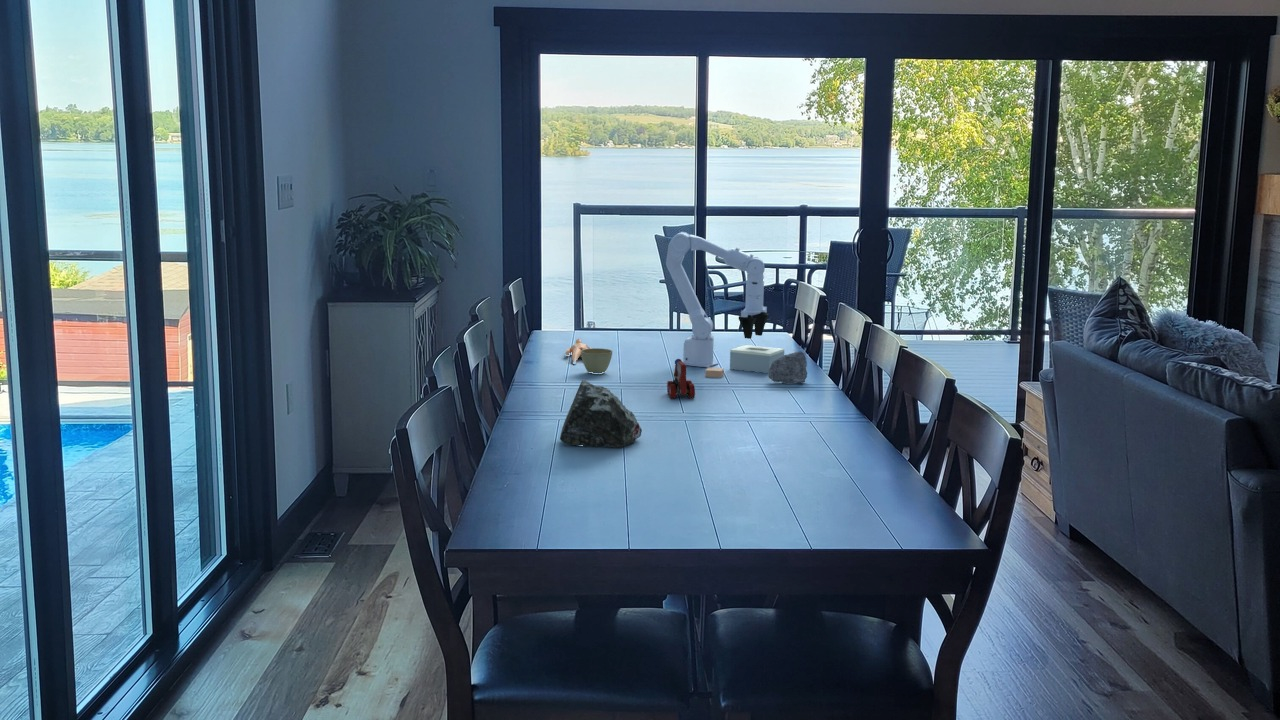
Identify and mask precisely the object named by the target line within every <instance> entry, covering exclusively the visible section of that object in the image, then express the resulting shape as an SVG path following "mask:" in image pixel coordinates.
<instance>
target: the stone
mask: <svg viewBox="0 0 1280 720" xmlns="http://www.w3.org/2000/svg"><path fill="white" fill-rule="evenodd" d="M642 431H643V430H642V427H641V426H640V424H639V422H638V419H637V418H636V416H635V413H633V411H630V409H628V408H627V407H626V405H624V404H623V402H622V401H621V400H620V399H619V397H618V396H616V395H615V394H614V393H613V392H611V390H610V389H608V388H607V387H604V386H601V385H594V384H593V383H590V382H589V381H588V380H586V379H582V380H581V382H580V384H579V387H578V389H577V391H576V393H575V396H574V399H573V400H572V404H571V405H570V408H569V411H568V413H567V414H566V418H565V419H564V422H563V425H562V428H561V432H560V437H559V440H560V441H561V442H563V443H565V444H568V445H572V446H575V445H576V446H575V447H578V446H577V445H583V446H591V447H604V446H605V447H604V448H607V447H613V448H620V449H621V448H624V447H625V446H630V444H631V445H633V444H634V442H635V441H636V440H637V439H639V438H640V437H641V436H642Z"/></svg>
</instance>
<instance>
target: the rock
mask: <svg viewBox="0 0 1280 720" xmlns="http://www.w3.org/2000/svg"><path fill="white" fill-rule="evenodd" d="M807 362H808V361H807V357H806V355H805V354H804V353H803V351H802V350H799V351H795V352H791V353H788V354H784V356H782V357H780V358H778V359H776V360H774V361H773V362H772V364H771V367H770V368H769V370H768V373H767V374H768V378H769V379H770V380H771V381H772V382H774V383H780V382H781V383H783V384H785V383H793V384H796V383H797V384H802V383H805V382H806V379H807V377H808V371H807V366H808V363H807Z"/></svg>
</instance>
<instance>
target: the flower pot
mask: <svg viewBox="0 0 1280 720" xmlns="http://www.w3.org/2000/svg"><path fill="white" fill-rule="evenodd" d="M589 348H590V349H583V350H581V357H580V358H581V360H582V363H583V366H584V367H585V370H586V371H587V373H588V372H593V373H602V372H605V371H607V370H608V367H609V366H610V364H611V360H612V358H613V357H612V356H613V350H611V349H608V348H602V347H601V348H600V347H599V348H598V347H595V348H594V347H593V348H592V347H589ZM605 373H606V372H605Z"/></svg>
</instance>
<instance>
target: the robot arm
mask: <svg viewBox="0 0 1280 720" xmlns="http://www.w3.org/2000/svg"><path fill="white" fill-rule="evenodd" d="M689 250H690V251H704V252H705V253H708V254H711V255H713V256H716V257H719V258H721V259H722V260H723V261H724V264H725V265H727V266H730V267H732V268H734V269H736V270H739V271H741V272H746V273H747V276H746V281H745V308H744V309H743V310H741V311H740V315H739V316H738V321H739V322H740V325H741V327H742V331H743V336H744V339H749V340H751V339H752V337H753V331H754V335H755V336H763V334H764V329H765V326H766V323H767V321H768V319H769V317H770V313H767V312H768V311H767V310H768V306H764V292H765V291H764V290H765V287H764V286H765V281H764V278H765V275H764V272H765V263H764V261H763V260H762V259H761V258H759V257H758V256H755V257H754V254H748V253H747V252H746V253H745V252H743V251H741V249H740V248H739V247H735V248H734V247H730V248H728V249H727V248H724V247H722V246H720V245H719V244H716V243H715V242H712V241H709V240H708V239H705V238H703V237H700V236H698V235H695V234H689V233H688V232H685V231H681V232H678V233H676V234H674V235H673V237H672V238H671V239H670V242H669V243H668V245H667V254H666V260H665V264H666V268H667V270H668V272H669V274H670V277H671V280H672V281H673V284H674V287H676V289H677V291H678V294H679V296H680V298H681V301H682V302H683V305H684V307H685V308H686V311H687V314H688V317H689V320H690V323H691V325H692V326H691V327H692V328H691V331H692V334H693V335H691V336H688V337H687V338H685V340H684V343H683V359H682V360H683V361H682V362H683V363H684V364H685V365H686V366H690V367H691V366H692V367H701V368H711V367H713V366H716V365H719V363H718V361H714V339H715V338H714V335H712V331H713V329H714V322H713V320H712V319H711V318H710V317H708V315H707V313H706V312H705V310H704V308H703V307H702V305H701V303H700V301H699V299H698V296H697V295H696V291H695V290H694V288H693V286H692V284H691V281H690V279H689V277H688V275H687V273H686V270H685V268H684V266H683V265H682V264H683V261H684V258H685V256H686V254H687V253H688V252H689Z"/></svg>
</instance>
